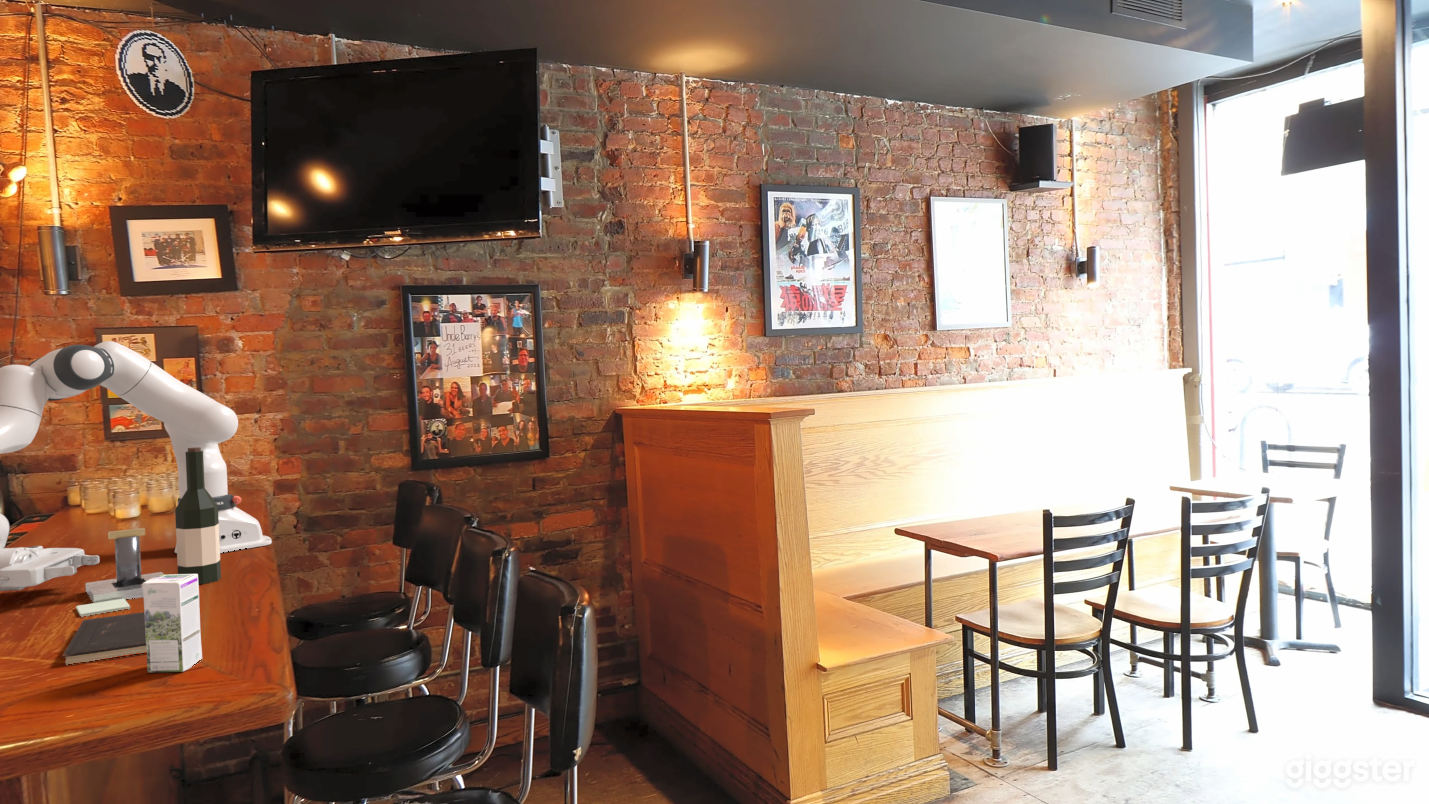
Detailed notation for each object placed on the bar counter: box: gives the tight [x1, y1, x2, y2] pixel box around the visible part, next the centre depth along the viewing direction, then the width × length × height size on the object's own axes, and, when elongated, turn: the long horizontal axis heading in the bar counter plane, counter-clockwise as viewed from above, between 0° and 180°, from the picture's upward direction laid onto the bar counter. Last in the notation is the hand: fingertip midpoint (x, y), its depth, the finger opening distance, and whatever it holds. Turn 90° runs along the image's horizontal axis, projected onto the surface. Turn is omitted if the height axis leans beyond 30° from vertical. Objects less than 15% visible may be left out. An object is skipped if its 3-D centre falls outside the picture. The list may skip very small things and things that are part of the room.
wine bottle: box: [174, 447, 222, 585], centre depth 195 cm, size 8×8×30 cm
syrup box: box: [143, 573, 203, 673], centre depth 138 cm, size 6×6×14 cm
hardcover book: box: [61, 611, 147, 666], centre depth 154 cm, size 16×23×2 cm
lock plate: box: [85, 571, 166, 603], centre depth 186 cm, size 14×14×2 cm
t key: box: [107, 527, 146, 588], centre depth 186 cm, size 6×4×13 cm
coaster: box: [75, 598, 131, 618], centre depth 174 cm, size 8×8×1 cm
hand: (86, 564), depth 185 cm, fingers open, 8 cm apart
